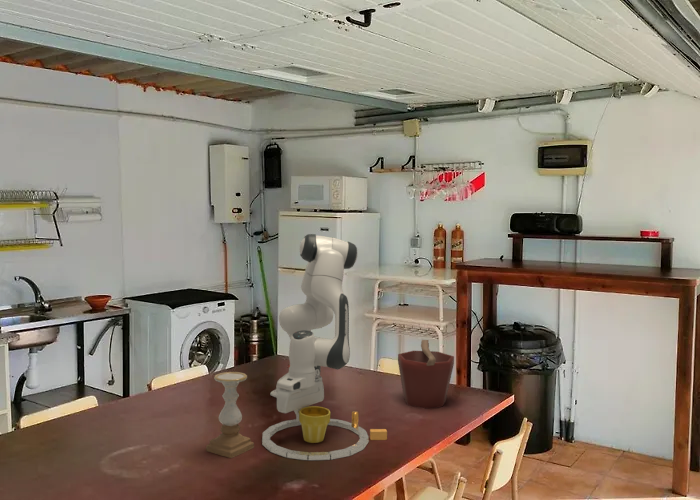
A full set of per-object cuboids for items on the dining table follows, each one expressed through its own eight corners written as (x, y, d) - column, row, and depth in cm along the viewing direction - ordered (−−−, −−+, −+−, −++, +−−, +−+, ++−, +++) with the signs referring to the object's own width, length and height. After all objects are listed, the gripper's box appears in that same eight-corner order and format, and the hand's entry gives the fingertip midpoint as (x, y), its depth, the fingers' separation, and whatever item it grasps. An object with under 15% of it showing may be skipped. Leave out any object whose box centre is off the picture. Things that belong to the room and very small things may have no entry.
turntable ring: (240, 441, 206) (240, 422, 206) (310, 415, 234) (310, 398, 233) (321, 469, 185) (321, 448, 184) (388, 437, 212) (388, 418, 212)
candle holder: (231, 459, 192) (231, 382, 191) (205, 451, 198) (205, 376, 196) (254, 448, 201) (255, 374, 200) (229, 441, 207) (229, 369, 206)
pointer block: (370, 440, 210) (370, 431, 210) (369, 437, 212) (369, 429, 212) (386, 440, 210) (387, 431, 210) (385, 437, 213) (386, 429, 212)
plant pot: (324, 447, 203) (325, 417, 203) (294, 443, 206) (295, 414, 205) (332, 436, 213) (333, 408, 213) (303, 432, 216) (304, 404, 215)
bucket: (445, 414, 239) (446, 349, 238) (389, 407, 246) (390, 344, 245) (455, 396, 262) (457, 337, 261) (404, 390, 269) (405, 333, 268)
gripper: (315, 372, 222) (314, 410, 223) (273, 383, 206) (273, 424, 207) (328, 375, 218) (328, 414, 219) (287, 387, 202) (287, 429, 203)
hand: (301, 419), depth 213 cm, fingers closed, pressing on plant pot
